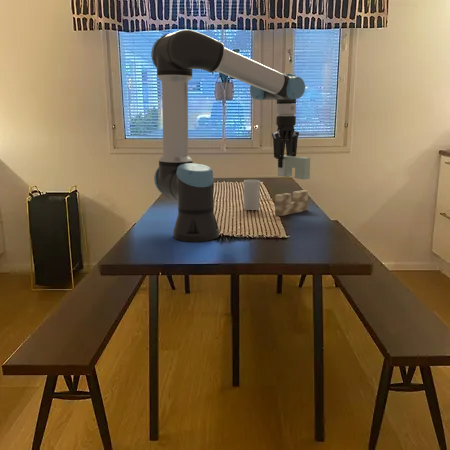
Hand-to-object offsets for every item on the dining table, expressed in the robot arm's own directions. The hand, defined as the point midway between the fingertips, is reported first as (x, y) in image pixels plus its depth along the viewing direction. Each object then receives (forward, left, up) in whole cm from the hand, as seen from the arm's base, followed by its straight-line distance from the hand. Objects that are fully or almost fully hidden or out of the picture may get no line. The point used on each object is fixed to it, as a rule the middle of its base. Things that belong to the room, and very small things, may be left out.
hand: (284, 175), depth 187 cm
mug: (-7, +12, -15) cm, 20 cm away
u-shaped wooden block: (0, -4, -15) cm, 15 cm away
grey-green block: (0, -5, 0) cm, 5 cm away
